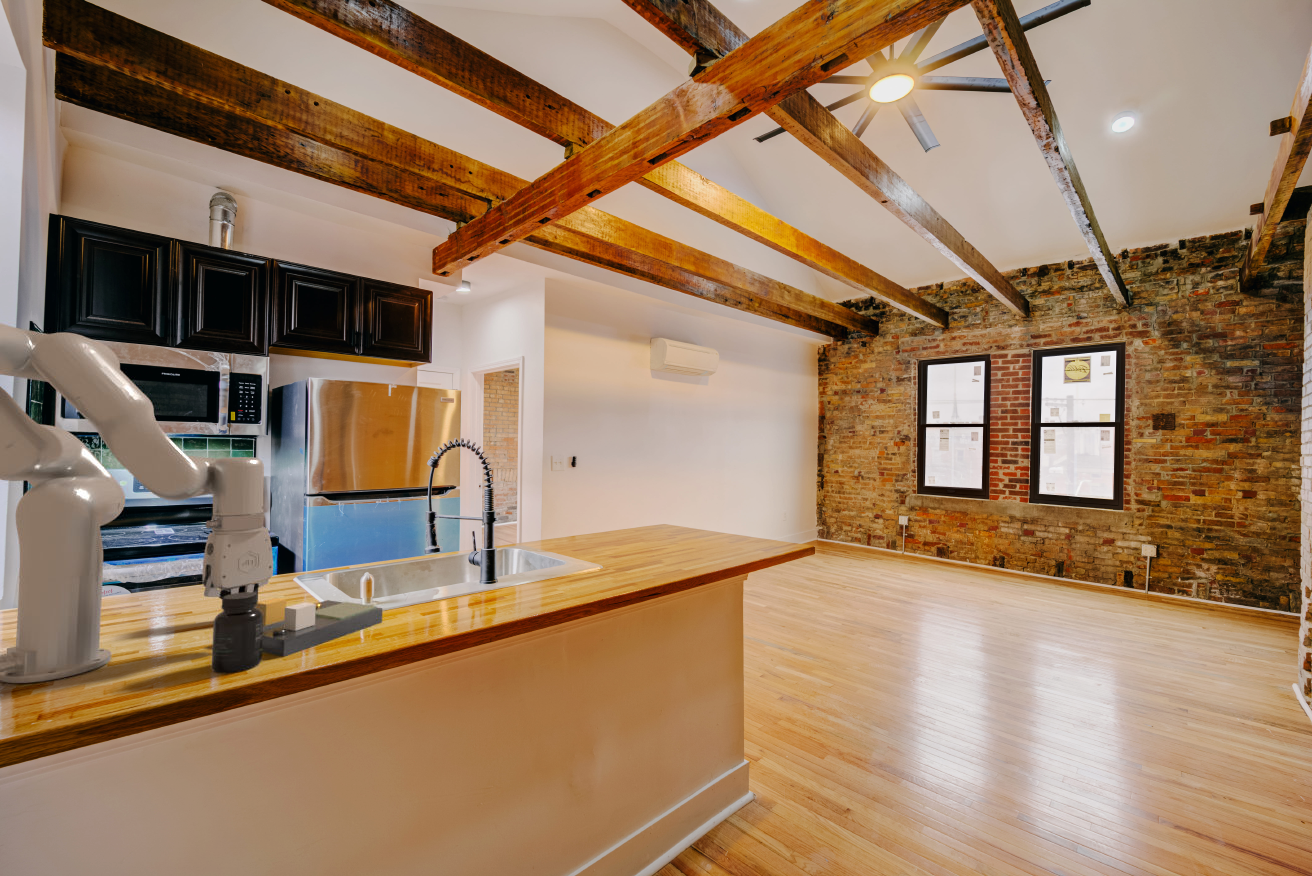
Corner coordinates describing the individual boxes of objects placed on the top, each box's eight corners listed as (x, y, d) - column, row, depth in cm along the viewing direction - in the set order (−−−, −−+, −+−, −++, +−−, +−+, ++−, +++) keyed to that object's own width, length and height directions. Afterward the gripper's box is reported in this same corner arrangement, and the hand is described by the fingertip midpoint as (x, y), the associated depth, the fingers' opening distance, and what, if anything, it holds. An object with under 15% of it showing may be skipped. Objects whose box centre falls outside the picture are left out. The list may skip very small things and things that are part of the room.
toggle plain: (295, 630, 104) (296, 609, 104) (283, 628, 105) (284, 607, 105) (314, 624, 108) (315, 604, 108) (303, 622, 109) (304, 602, 109)
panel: (283, 656, 100) (284, 636, 100) (223, 644, 105) (223, 625, 105) (382, 622, 120) (382, 605, 120) (327, 613, 126) (327, 597, 126)
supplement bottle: (245, 656, 99) (248, 588, 100) (270, 662, 97) (273, 593, 97) (202, 669, 93) (205, 597, 93) (227, 677, 90) (230, 602, 91)
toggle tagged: (265, 625, 107) (266, 604, 107) (254, 623, 108) (255, 602, 108) (285, 619, 111) (286, 599, 111) (274, 617, 112) (275, 597, 112)
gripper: (207, 530, 95) (206, 638, 95) (291, 519, 109) (290, 613, 109) (179, 528, 98) (177, 633, 97) (264, 517, 112) (263, 609, 111)
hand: (237, 622), depth 103 cm, fingers closed
